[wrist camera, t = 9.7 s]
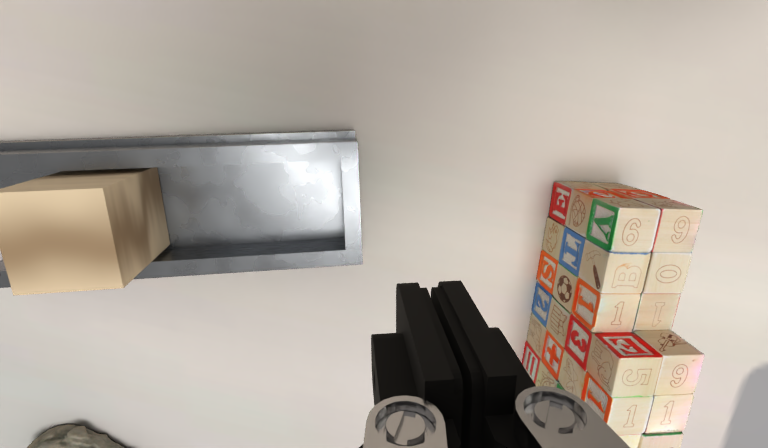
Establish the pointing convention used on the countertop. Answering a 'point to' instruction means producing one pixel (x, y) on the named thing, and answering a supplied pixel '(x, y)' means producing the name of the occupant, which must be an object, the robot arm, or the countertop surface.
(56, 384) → the countertop surface
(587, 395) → the stack of blocks
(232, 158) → the chute
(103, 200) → the block
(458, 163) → the countertop surface
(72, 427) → the long grey stone
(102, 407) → the countertop surface
